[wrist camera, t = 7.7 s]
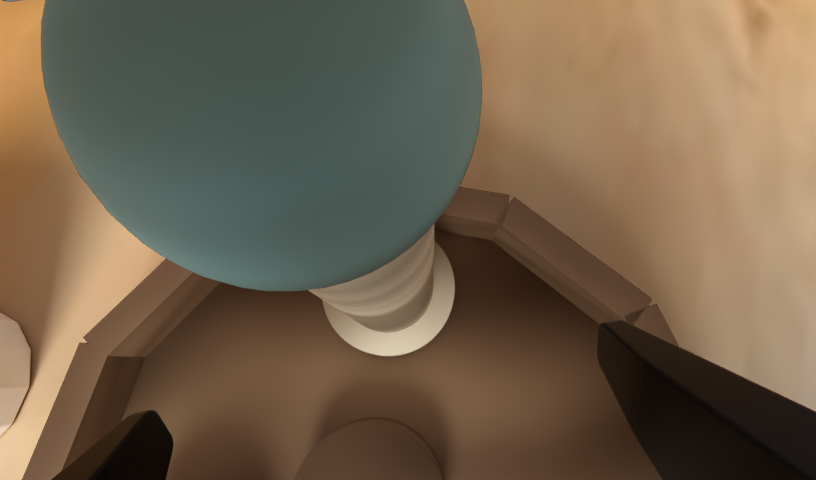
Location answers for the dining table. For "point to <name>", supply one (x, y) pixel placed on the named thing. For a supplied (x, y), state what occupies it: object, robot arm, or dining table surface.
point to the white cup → (12, 370)
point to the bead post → (279, 143)
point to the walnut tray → (372, 371)
